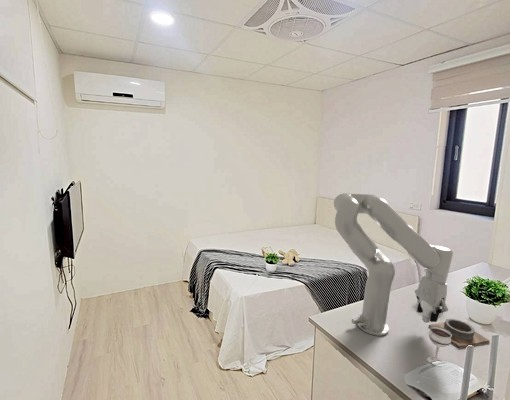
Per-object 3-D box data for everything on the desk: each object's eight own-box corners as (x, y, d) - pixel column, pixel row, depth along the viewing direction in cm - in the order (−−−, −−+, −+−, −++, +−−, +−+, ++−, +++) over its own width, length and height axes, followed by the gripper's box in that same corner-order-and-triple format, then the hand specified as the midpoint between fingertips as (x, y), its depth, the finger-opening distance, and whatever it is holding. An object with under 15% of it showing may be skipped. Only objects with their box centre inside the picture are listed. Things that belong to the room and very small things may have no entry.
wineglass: (439, 356, 108) (445, 326, 106) (450, 369, 101) (456, 338, 99) (421, 354, 109) (426, 325, 106) (430, 367, 102) (436, 337, 100)
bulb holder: (458, 348, 113) (460, 338, 113) (428, 326, 126) (430, 318, 126) (489, 342, 118) (491, 333, 117) (457, 322, 131) (458, 314, 130)
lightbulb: (436, 327, 118) (442, 303, 116) (419, 324, 119) (425, 299, 117) (430, 319, 124) (436, 295, 122) (414, 316, 125) (419, 292, 124)
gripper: (411, 267, 125) (403, 305, 128) (447, 287, 109) (437, 330, 112) (425, 267, 127) (417, 305, 131) (462, 286, 111) (452, 328, 114)
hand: (426, 316), depth 121 cm, fingers closed on lightbulb, 5 cm apart
